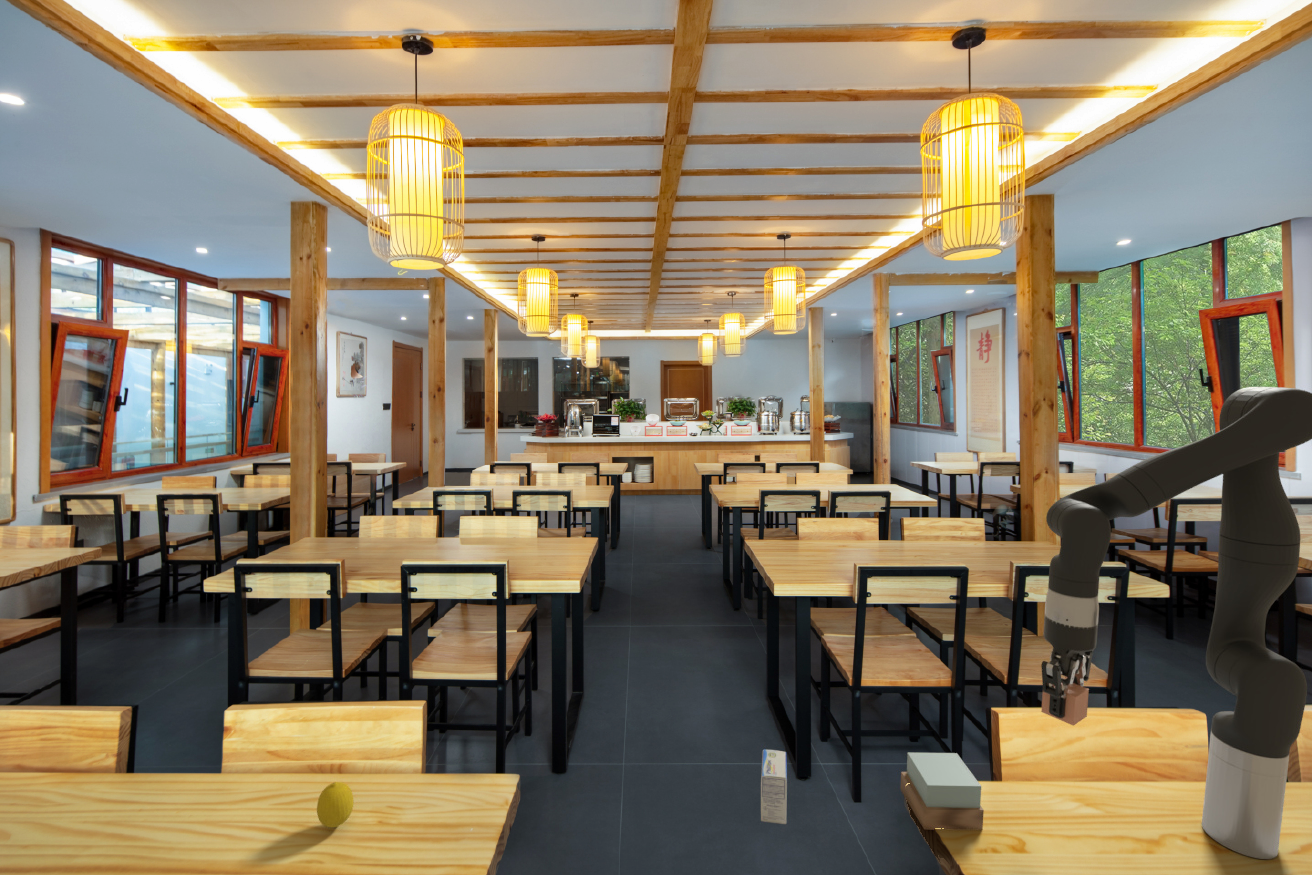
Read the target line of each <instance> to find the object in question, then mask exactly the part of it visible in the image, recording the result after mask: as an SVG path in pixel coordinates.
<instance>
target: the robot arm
mask: <svg viewBox="0 0 1312 875" xmlns="http://www.w3.org/2000/svg"><path fill="white" fill-rule="evenodd" d="M1311 440H1312V392H1310V391H1307V390H1305V389H1304V390H1303V389H1300V388H1293V387H1279V386H1278V387H1277V386H1250V387H1249V386H1248V387H1244V388H1240V389H1238V390H1236V391H1234V392H1233V393H1231V394H1230V395H1228V397H1227V398H1226V399H1225V400H1224V402H1223V403H1222V407H1221V409H1220V412H1219V430H1218V431H1217V432H1216V433H1215V432H1214V433H1213V434H1211V435H1209V436H1206V437H1204V438H1202V439H1201V438H1200V439H1199V440H1196V441H1193V442H1191V443H1187V444H1184V445H1181V446H1178V447H1176V448H1172V449H1170V450H1167V451H1164V452H1161V453H1158V454H1156V455H1152V456H1150V457H1148V458H1145V459H1144V460H1141V461H1138V462H1137V463H1135V464H1134V465H1132V466H1130V467H1127V468H1126V469H1125V470H1122V471H1121V472H1119V473H1117V474H1115V475H1114V476H1112V477H1110V478H1109V479H1107V480H1105V481H1103V482H1100V483H1097V484H1093V485H1090V486H1088V487H1086V488H1083V489H1079V490H1078V491H1075V492H1072V493H1070V494H1067V495H1065V496H1063V497H1061V498H1059V499H1058V500H1057V501H1055V502H1054V503H1053V504H1052V505H1051V506H1050V507H1049V508H1048V509H1047V510H1048V511H1047V513H1046V524H1047V525H1048V528H1049V529H1050V530H1051V532H1053V533H1054V534H1055V535H1056V536H1058V537H1060V538H1061V543H1060V548H1059V554H1056V555H1054V556H1053V557H1052V558H1051V560H1050V563H1049V570H1048V571H1049V572H1048V583H1047V594H1046V595H1045V596H1046V597H1045V604H1044V618H1043V619H1044V622H1043V633H1042V634H1043V638H1044V640H1045V641H1046V642H1047V643H1049V644H1050V645H1051V646H1052V651H1051V652H1050V656H1049V662H1048V661H1046V660H1043V661H1042V662H1041V678H1042V682H1041V683H1042V693H1043V692H1045V693H1048V694H1050V703H1049V713H1050V714H1051V715H1054V716H1056V717H1058V718H1063V717H1065V706H1066V696H1067V691H1068V687H1069V686H1070V685H1072V684H1073V683H1074V684H1077V685H1080V686H1082V687H1085V682H1088V681H1089V678H1090V672H1091V666H1092V660H1093V655H1094V650H1095V649H1096V648H1097V640H1098V629H1099V628H1098V627H1099V626H1098V625H1099V613H1100V605H1099V604H1100V603H1099V588H1100V571H1101V568H1102V565H1103V563H1104V562H1105V557H1106V555H1107V553H1108V549H1109V545H1110V542H1111V537H1112V528H1111V523H1110V521H1112V520H1114V519H1117V518H1136V517H1138V516H1141V515H1143V514H1146V513H1147V512H1149V511H1150V510H1153V509H1154V508H1156V507H1159V506H1160V505H1162V504H1164V503H1165V502H1168V501H1170V500H1171V499H1173V498H1175V497H1177V496H1179V495H1181V494H1183V493H1184V492H1187V491H1188V490H1191V489H1193V488H1195V487H1197V486H1199V485H1201V484H1203V483H1206V482H1208V481H1210V480H1213V479H1214V478H1217V477H1219V476H1221V475H1222V487H1221V488H1222V489H1221V506H1220V508H1221V511H1220V512H1221V514H1220V516H1221V517H1220V524H1219V536H1218V551H1217V552H1218V556H1217V558H1218V559H1217V562H1218V563H1217V564H1218V565H1217V568H1218V569H1217V580H1216V590H1215V593H1216V594H1215V604H1214V605H1215V606H1214V610H1213V611H1214V612H1213V617H1212V623H1211V627H1210V632H1209V637H1208V640H1207V641H1208V642H1207V647H1206V652H1205V653H1206V654H1205V667H1206V670H1207V673H1208V674H1209V675H1210V677H1211V679H1212V680H1213V681H1214V682H1215V683H1217V684H1218V685H1219V686H1221V688H1223V689H1224V690H1226V691H1228V692H1229V693H1231V694H1232V695H1234V696H1235V697H1236V700H1235V701H1236V702H1235V706H1234V711H1232V710H1225V711H1219V712H1216V713H1214V715H1213V716H1212V719H1211V728H1210V735H1209V736H1210V737H1209V748H1208V757H1207V758H1208V759H1207V760H1208V761H1207V768H1206V776H1205V777H1206V779H1205V788H1204V789H1205V790H1204V798H1203V808H1202V815H1201V816H1202V818H1201V827H1202V829H1203V831H1205V833H1206V834H1207V835H1208V836H1209V837H1210V838H1212V840H1214V841H1215V842H1217V843H1218V844H1220V845H1221V846H1224V847H1226V848H1227V849H1229V850H1232V851H1233V852H1236V853H1238V854H1241V855H1243V856H1247V857H1250V858H1254V859H1261V860H1271V859H1274V858H1276V857H1277V856H1278V855H1279V846H1280V837H1281V830H1282V823H1283V812H1284V804H1285V798H1286V797H1285V794H1286V785H1287V779H1288V768H1289V760H1290V751H1291V747H1292V746H1293V744H1294V743H1295V742H1296V740H1297V739H1298V737H1299V734H1300V731H1301V727H1302V722H1303V717H1304V713H1305V707H1306V703H1307V696H1308V685H1307V679H1306V676H1305V673H1304V672H1303V670H1302V669H1301V667H1299V666H1298V665H1297V664H1296V663H1295V662H1294V661H1291V660H1289V659H1288V658H1286V657H1284V656H1282V655H1281V654H1278V653H1276V652H1275V651H1273V650H1271V649H1269V648H1267V645H1266V638H1265V636H1266V634H1265V633H1266V621H1267V616H1268V613H1269V610H1270V609H1271V607H1272V606H1273V604H1274V603H1275V601H1276V600H1278V598H1279V597H1280V596H1281V595H1282V594H1283V593H1284V592H1285V591H1286V590H1288V588H1289V586H1290V585H1291V584H1292V582H1293V581H1294V580H1295V577H1296V576H1297V574H1298V571H1299V570H1298V569H1299V565H1300V550H1301V530H1300V524H1299V523H1298V519H1297V516H1296V513H1295V512H1294V509H1293V506H1292V505H1291V502H1290V500H1289V498H1288V496H1287V493H1286V492H1285V489H1284V487H1283V484H1282V481H1281V478H1280V476H1281V475H1280V467H1279V466H1280V465H1279V463H1280V462H1279V461H1280V453H1282V452H1285V451H1288V450H1290V449H1292V448H1296V447H1298V446H1301V445H1304V444H1305V443H1308V442H1309V441H1311ZM1062 676H1064V677H1062ZM1061 683H1062V684H1063V685H1062V684H1061Z"/></svg>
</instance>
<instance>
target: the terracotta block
mask: <svg viewBox="0 0 1312 875" xmlns="http://www.w3.org/2000/svg"><path fill="white" fill-rule="evenodd" d="M1061 684H1062V683H1061ZM1062 685H1063V684H1062ZM1089 690H1090V689H1089V688H1088V687H1085V686H1083V687H1082V686H1080V685H1077V684H1074V683H1073V684H1072V685H1070V686H1069V687H1068V691H1067V696H1066V706H1065V717H1063V718H1058V717H1056V716H1054V715H1051V714H1050V713H1049V703H1050V694H1048V693H1045V692H1043V691H1042V696H1041V697H1042V698H1041V713H1043V714H1045V715H1047V716H1050V717H1052V718H1055V719H1057V720H1058V721H1061V722H1064V723H1066V724H1068V725H1071V726H1074V727H1075V726H1076V725H1077V724H1078V723H1079V722H1081V721H1082V720H1084V719H1086V718H1087V716H1088V708H1089V707H1088V705H1089V692H1090V691H1089Z"/></svg>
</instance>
